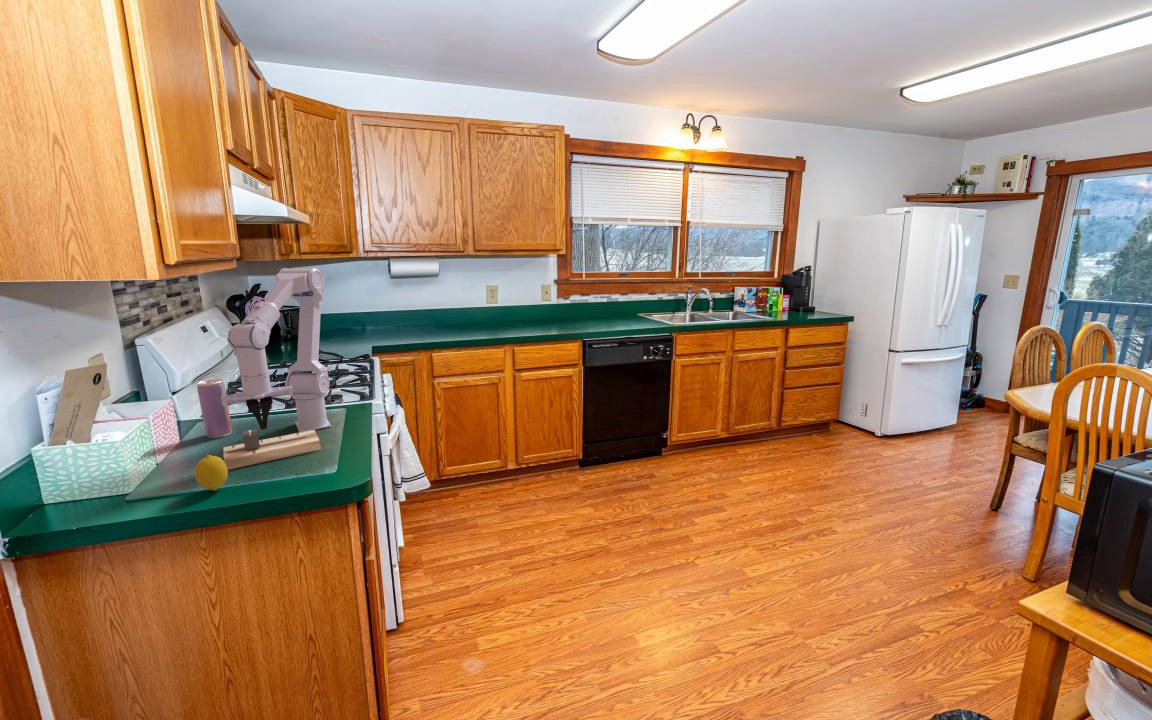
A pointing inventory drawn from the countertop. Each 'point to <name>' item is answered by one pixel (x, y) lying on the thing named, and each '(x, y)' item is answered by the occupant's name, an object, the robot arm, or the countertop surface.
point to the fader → (251, 439)
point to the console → (271, 449)
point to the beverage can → (214, 408)
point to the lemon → (211, 472)
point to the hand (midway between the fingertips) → (263, 427)
